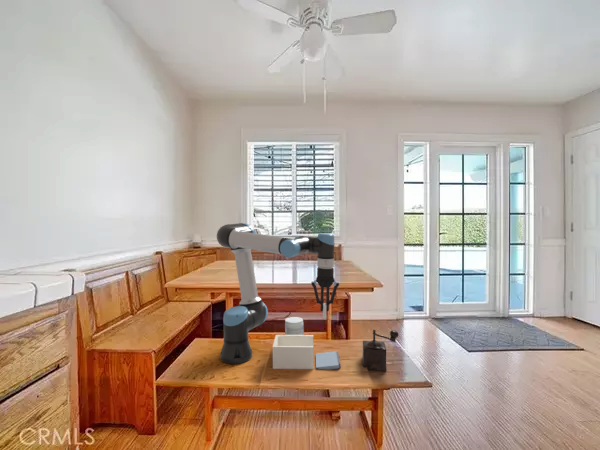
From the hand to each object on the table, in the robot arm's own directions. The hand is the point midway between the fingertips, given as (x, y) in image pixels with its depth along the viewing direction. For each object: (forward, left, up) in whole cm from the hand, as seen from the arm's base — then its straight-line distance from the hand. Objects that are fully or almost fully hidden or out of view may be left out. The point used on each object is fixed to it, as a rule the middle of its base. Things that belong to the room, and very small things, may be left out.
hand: (324, 317), depth 153 cm
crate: (-12, -7, -21) cm, 26 cm away
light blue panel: (-3, -3, -20) cm, 21 cm away
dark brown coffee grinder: (+23, +10, -22) cm, 33 cm away
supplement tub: (-21, +8, -22) cm, 31 cm away
